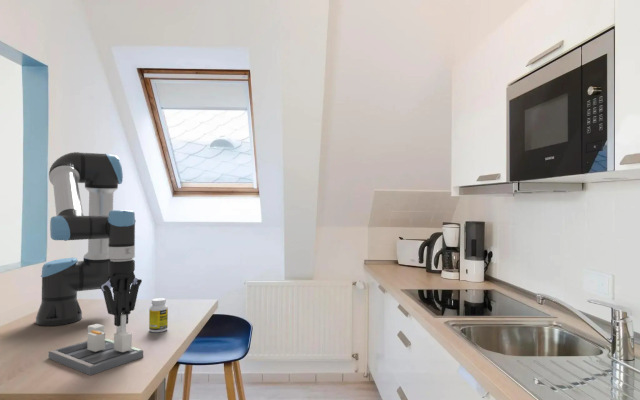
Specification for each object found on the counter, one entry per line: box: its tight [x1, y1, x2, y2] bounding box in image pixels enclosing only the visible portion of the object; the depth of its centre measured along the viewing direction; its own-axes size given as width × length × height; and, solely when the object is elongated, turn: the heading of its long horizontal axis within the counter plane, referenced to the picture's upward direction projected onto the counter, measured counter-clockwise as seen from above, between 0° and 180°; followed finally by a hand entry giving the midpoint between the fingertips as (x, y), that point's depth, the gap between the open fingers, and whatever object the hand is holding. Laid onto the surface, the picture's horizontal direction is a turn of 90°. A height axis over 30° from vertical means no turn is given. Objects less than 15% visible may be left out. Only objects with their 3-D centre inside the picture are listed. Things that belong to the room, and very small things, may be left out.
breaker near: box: [113, 331, 133, 352], centre depth 127 cm, size 4×3×5 cm
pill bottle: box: [148, 297, 169, 333], centre depth 155 cm, size 6×6×11 cm
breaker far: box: [87, 323, 105, 333], centre depth 135 cm, size 4×3×5 cm
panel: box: [47, 337, 144, 376], centre depth 128 cm, size 22×16×2 cm
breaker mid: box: [86, 330, 106, 352], centre depth 128 cm, size 4×3×5 cm
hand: (121, 335), depth 134 cm, fingers closed
